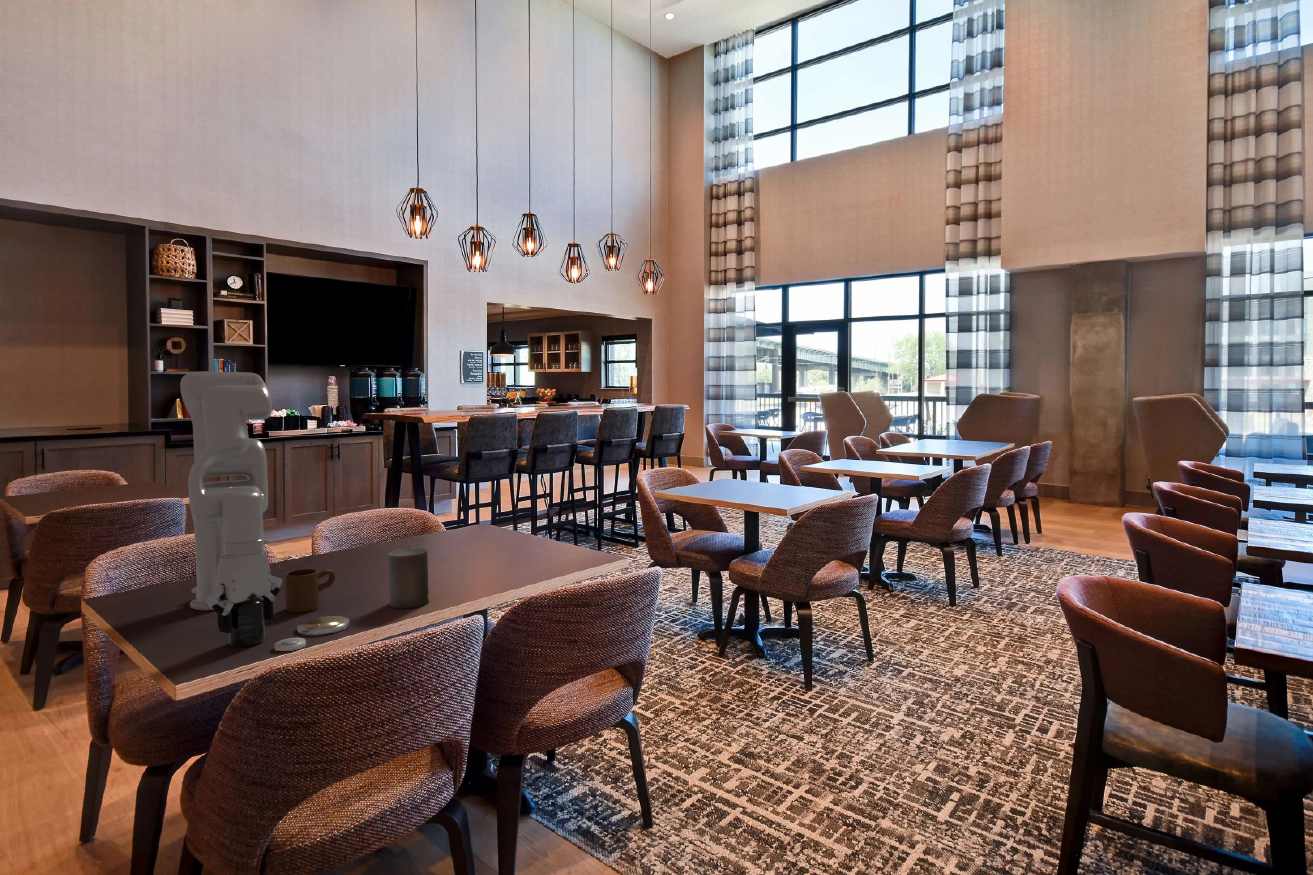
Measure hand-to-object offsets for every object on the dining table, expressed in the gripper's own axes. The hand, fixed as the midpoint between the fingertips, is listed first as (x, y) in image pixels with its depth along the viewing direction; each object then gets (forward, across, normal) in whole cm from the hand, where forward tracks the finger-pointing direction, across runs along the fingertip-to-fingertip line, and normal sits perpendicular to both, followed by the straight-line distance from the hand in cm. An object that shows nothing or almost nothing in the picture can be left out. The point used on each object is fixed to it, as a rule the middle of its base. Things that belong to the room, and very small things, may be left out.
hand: (246, 625), depth 156 cm
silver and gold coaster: (+4, -14, +7) cm, 16 cm away
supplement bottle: (+4, 0, 0) cm, 4 cm away
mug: (+4, -24, -9) cm, 26 cm away
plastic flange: (+4, -2, +11) cm, 12 cm away
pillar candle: (+4, -37, +11) cm, 39 cm away
